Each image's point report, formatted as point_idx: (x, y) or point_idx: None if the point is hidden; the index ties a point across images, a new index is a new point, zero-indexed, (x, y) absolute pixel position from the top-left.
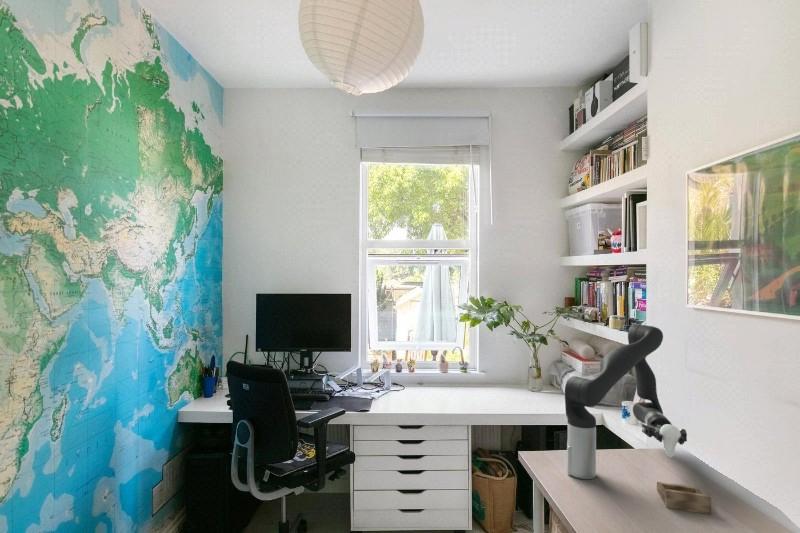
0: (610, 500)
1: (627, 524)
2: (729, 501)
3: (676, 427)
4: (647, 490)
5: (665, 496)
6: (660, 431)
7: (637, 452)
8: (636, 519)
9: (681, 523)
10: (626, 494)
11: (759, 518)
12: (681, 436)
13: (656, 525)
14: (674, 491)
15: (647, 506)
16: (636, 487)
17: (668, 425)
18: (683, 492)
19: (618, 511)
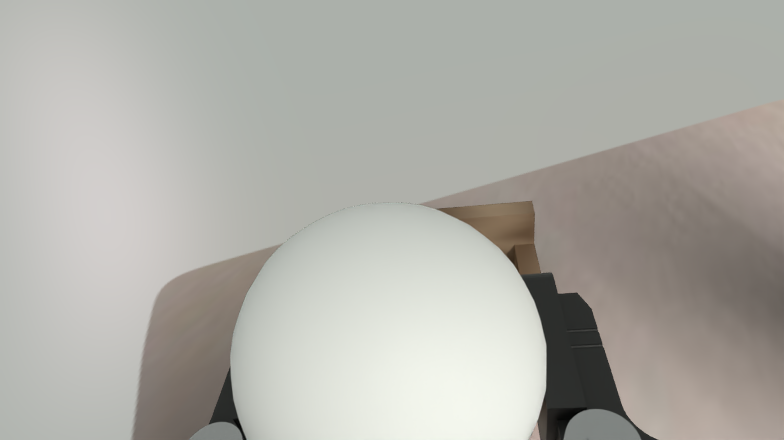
0: (774, 235)
1: (663, 140)
2: (200, 414)
3: (269, 265)
4: (619, 390)
5: (533, 242)
6: (535, 308)
7: None
8: (640, 166)
9: (493, 193)
10: (723, 307)
11: (184, 306)
12: (224, 410)
13: (575, 162)
14: (496, 206)
15: (609, 245)
16: (690, 407)
17: (399, 219)
18: (457, 210)
19: (712, 183)
